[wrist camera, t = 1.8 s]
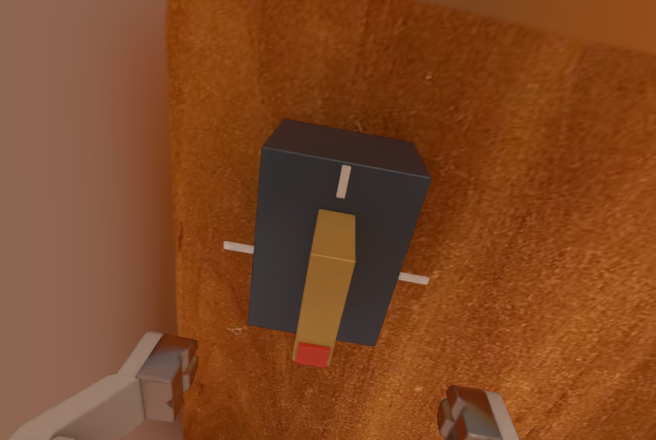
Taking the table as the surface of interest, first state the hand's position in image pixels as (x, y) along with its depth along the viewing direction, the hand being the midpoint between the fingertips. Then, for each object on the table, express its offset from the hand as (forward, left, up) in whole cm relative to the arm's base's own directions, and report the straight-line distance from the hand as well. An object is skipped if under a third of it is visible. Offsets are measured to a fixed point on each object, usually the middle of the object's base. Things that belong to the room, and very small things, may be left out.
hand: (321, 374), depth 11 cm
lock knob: (0, 0, -6) cm, 6 cm away
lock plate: (0, 0, -11) cm, 11 cm away
